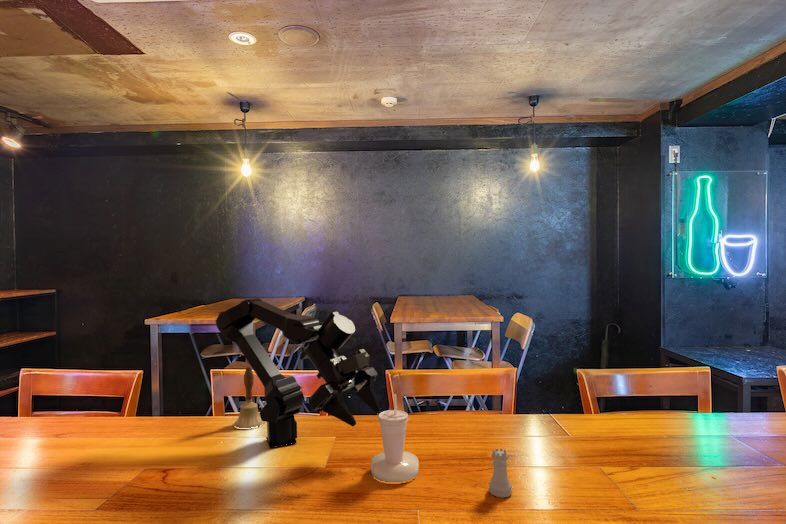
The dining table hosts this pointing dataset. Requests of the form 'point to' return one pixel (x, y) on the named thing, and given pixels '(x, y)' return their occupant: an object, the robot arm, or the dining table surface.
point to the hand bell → (248, 405)
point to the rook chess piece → (500, 475)
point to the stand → (394, 468)
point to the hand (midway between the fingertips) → (367, 418)
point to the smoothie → (393, 433)
